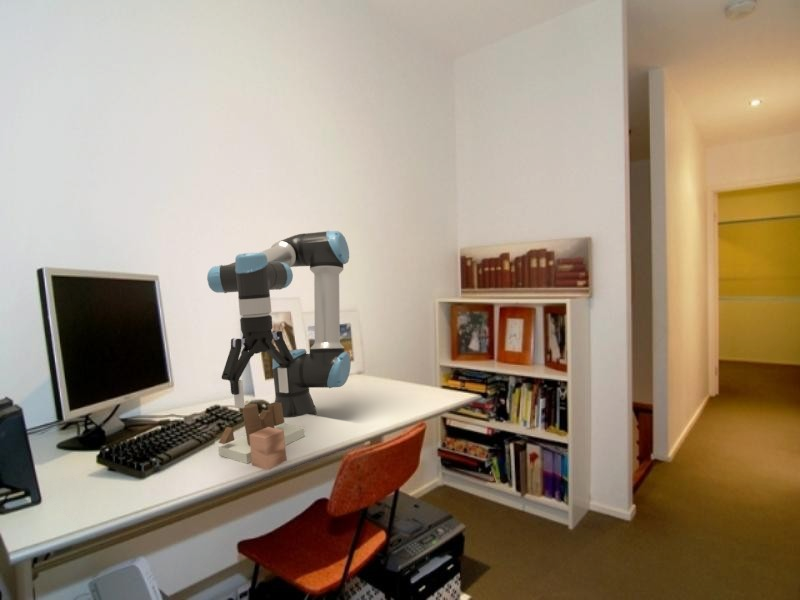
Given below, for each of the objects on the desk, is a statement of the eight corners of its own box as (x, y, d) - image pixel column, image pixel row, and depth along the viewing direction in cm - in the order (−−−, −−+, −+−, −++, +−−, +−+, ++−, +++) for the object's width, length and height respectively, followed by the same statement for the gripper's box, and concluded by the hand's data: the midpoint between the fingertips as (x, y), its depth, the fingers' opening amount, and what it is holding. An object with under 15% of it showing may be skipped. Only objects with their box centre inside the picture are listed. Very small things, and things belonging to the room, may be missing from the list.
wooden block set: (276, 426, 132) (270, 392, 132) (293, 429, 126) (288, 394, 126) (219, 449, 118) (213, 411, 118) (236, 453, 113) (230, 414, 112)
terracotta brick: (271, 456, 116) (268, 426, 116) (286, 460, 113) (283, 430, 112) (252, 465, 111) (249, 434, 111) (267, 470, 108) (264, 438, 107)
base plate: (277, 430, 136) (276, 422, 135) (304, 436, 129) (303, 427, 129) (219, 455, 119) (218, 446, 119) (247, 463, 112) (246, 454, 112)
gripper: (284, 310, 122) (290, 385, 123) (200, 321, 101) (208, 412, 102) (303, 310, 118) (309, 388, 119) (220, 321, 97) (228, 416, 98)
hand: (263, 399), depth 111 cm, fingers open, 13 cm apart
